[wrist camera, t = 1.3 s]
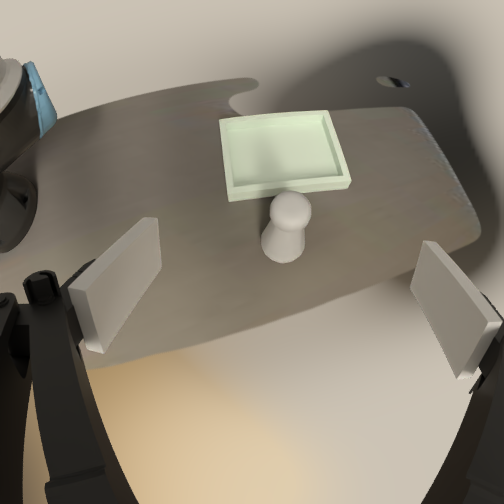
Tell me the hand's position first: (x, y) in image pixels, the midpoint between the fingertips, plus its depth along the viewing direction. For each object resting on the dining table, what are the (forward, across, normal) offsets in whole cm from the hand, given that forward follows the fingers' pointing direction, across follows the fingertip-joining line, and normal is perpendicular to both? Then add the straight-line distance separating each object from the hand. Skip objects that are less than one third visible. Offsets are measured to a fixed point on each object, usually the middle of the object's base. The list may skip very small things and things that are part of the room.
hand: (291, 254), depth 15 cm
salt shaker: (+26, 0, -12) cm, 29 cm away
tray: (+36, -1, -1) cm, 36 cm away
